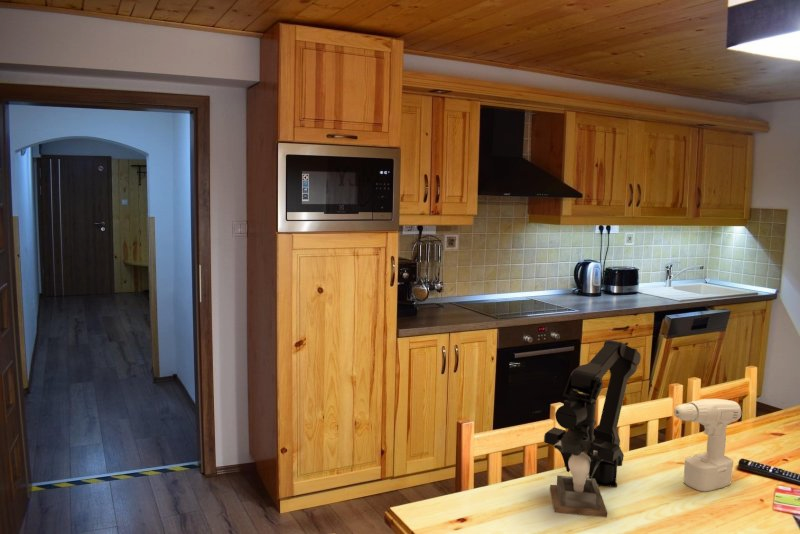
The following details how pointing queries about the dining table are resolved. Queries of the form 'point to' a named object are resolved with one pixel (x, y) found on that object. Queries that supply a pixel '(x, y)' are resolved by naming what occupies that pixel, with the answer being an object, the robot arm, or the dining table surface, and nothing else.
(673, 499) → the dining table surface
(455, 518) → the dining table surface
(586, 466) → the lightbulb
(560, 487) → the lamp socket
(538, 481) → the dining table surface
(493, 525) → the dining table surface
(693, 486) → the power drill
